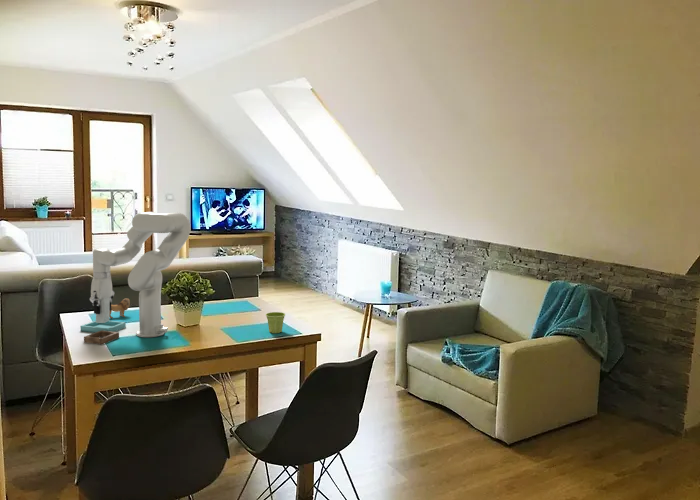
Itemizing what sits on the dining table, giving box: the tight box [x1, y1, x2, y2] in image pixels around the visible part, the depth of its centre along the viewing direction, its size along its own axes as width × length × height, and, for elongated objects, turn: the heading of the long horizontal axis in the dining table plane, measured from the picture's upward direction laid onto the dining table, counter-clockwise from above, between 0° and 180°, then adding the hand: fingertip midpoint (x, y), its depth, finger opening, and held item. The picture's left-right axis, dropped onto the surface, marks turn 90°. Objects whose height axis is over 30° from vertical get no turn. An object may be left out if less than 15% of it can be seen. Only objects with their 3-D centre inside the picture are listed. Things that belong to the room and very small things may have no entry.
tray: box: [80, 320, 127, 334], centre depth 285 cm, size 15×13×2 cm
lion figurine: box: [109, 298, 131, 319], centre depth 308 cm, size 15×5×9 cm, turn 132°
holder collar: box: [83, 330, 120, 345], centre depth 267 cm, size 9×11×2 cm
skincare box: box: [95, 297, 110, 323], centre depth 284 cm, size 6×4×12 cm
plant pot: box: [265, 311, 286, 334], centre depth 288 cm, size 9×9×9 cm
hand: (102, 311), depth 284 cm, fingers closed on skincare box, 7 cm apart
